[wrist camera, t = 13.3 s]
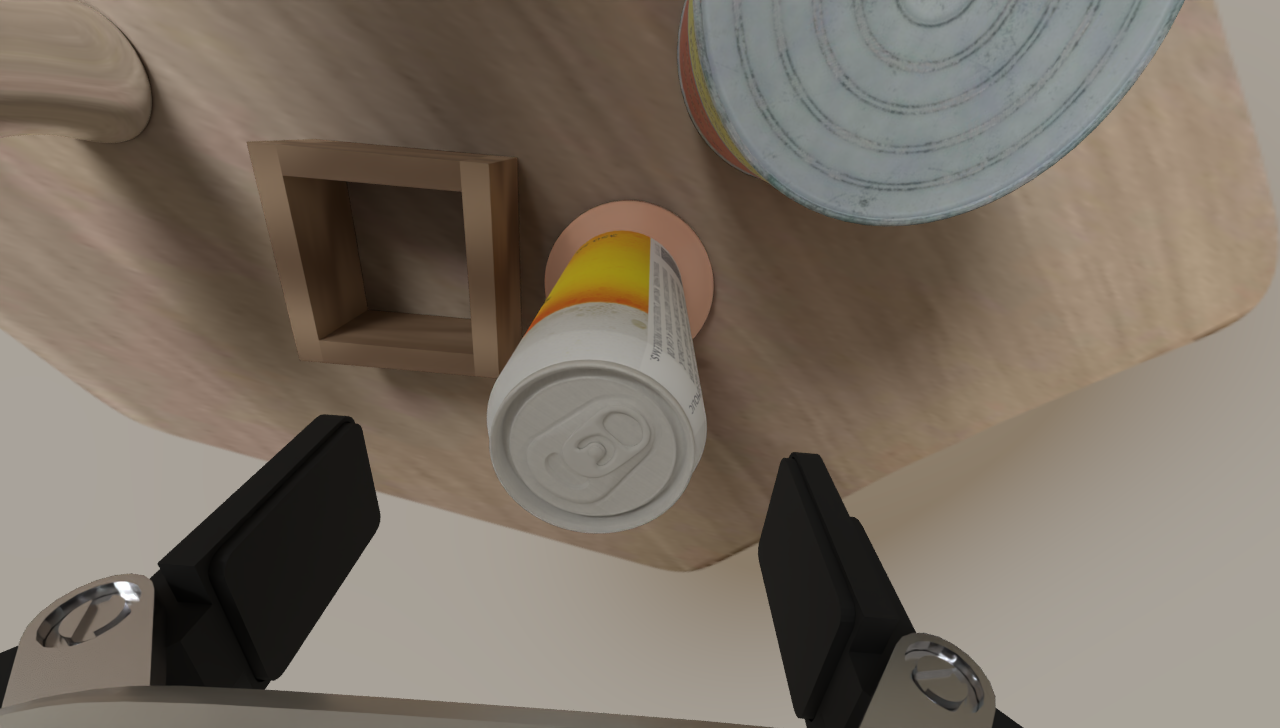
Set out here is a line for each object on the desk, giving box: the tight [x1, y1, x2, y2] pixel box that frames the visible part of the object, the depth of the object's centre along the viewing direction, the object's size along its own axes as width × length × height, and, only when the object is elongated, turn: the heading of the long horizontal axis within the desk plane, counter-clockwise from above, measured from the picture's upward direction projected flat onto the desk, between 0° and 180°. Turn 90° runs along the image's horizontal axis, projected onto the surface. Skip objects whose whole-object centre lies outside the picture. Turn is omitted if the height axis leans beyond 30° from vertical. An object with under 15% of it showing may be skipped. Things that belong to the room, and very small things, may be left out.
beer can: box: [487, 230, 707, 534], centre depth 19 cm, size 6×6×15 cm
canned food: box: [677, 0, 1185, 226], centre depth 17 cm, size 11×11×12 cm
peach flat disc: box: [544, 200, 714, 339], centre depth 27 cm, size 9×9×1 cm
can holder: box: [247, 139, 522, 378], centre depth 25 cm, size 10×10×4 cm
